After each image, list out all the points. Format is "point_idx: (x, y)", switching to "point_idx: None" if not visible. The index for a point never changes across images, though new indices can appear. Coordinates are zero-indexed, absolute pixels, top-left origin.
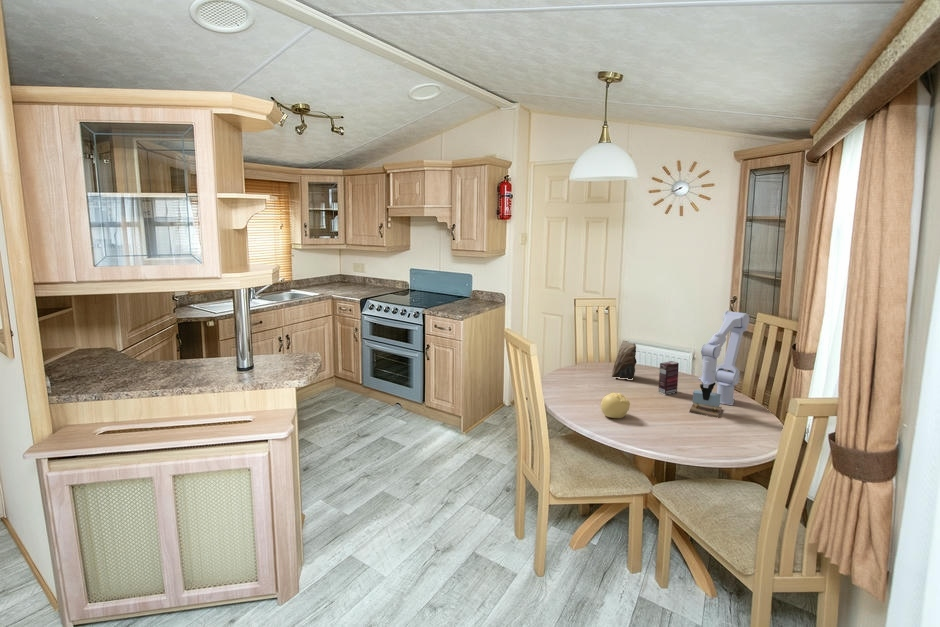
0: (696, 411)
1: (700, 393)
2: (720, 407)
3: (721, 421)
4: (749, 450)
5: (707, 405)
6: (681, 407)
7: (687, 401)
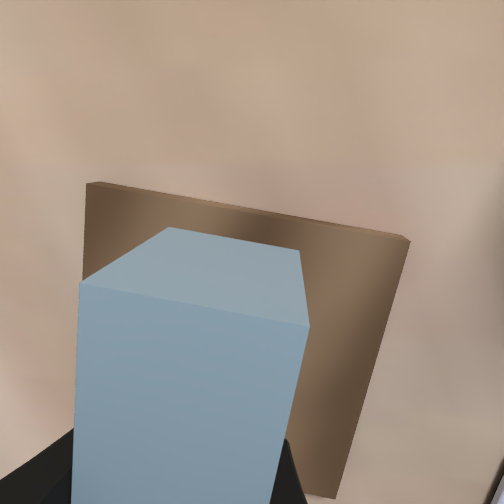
0: (84, 258)
1: (77, 429)
2: (315, 488)
3: (13, 441)
4: None
5: (335, 380)
6: (227, 86)
7: (490, 161)
